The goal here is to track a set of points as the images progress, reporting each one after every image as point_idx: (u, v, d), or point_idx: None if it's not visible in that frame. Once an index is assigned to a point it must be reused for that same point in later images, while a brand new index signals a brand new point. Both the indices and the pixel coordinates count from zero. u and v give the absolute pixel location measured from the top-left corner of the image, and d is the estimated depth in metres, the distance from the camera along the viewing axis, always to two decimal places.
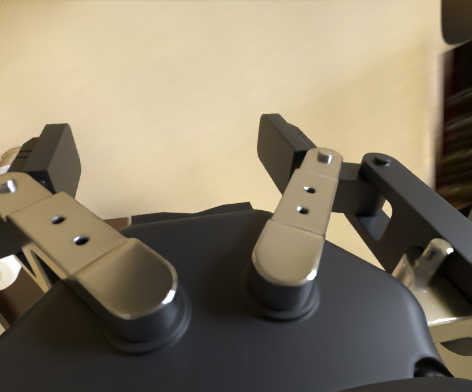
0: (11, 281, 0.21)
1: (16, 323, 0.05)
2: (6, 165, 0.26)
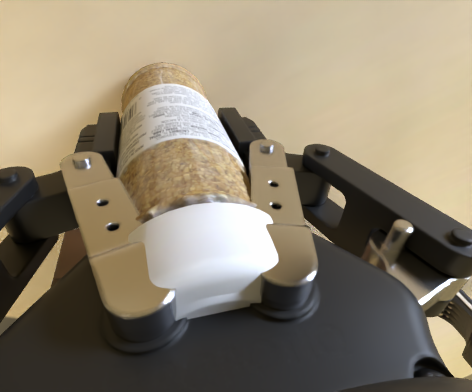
0: None
1: (16, 323, 0.05)
2: (161, 84, 0.12)
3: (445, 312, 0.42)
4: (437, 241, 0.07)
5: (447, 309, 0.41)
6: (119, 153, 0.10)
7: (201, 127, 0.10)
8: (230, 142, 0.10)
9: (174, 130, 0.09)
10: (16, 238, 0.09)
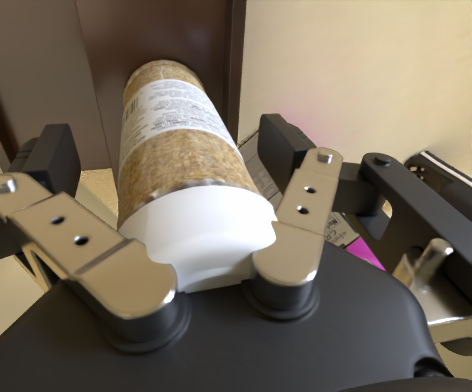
0: None
1: (16, 323, 0.05)
2: (161, 79, 0.13)
3: None
4: None
5: None
6: (122, 145, 0.11)
7: (200, 119, 0.10)
8: (228, 134, 0.11)
9: (175, 122, 0.09)
10: None
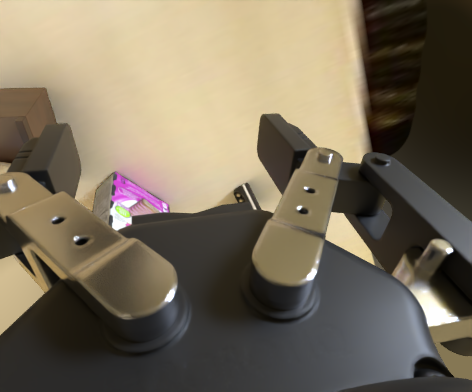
0: None
1: (16, 323, 0.05)
2: None
3: None
4: None
5: None
6: None
7: None
8: None
9: None
10: None
